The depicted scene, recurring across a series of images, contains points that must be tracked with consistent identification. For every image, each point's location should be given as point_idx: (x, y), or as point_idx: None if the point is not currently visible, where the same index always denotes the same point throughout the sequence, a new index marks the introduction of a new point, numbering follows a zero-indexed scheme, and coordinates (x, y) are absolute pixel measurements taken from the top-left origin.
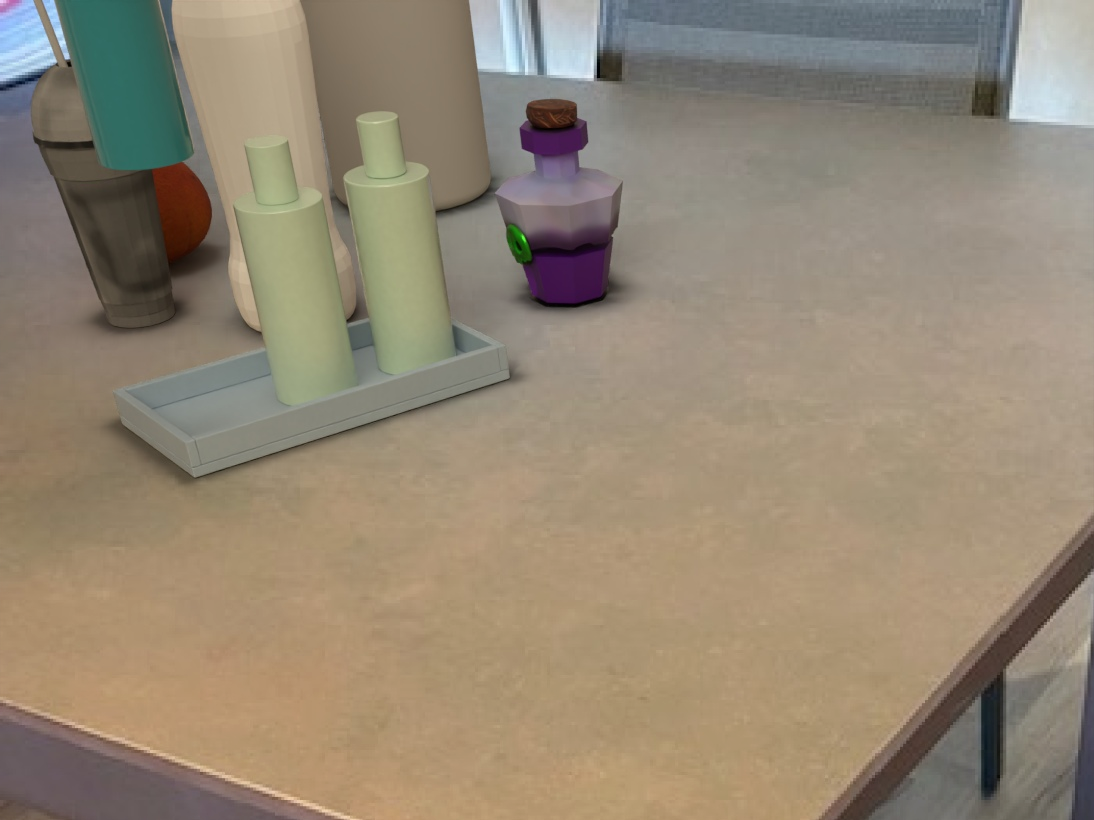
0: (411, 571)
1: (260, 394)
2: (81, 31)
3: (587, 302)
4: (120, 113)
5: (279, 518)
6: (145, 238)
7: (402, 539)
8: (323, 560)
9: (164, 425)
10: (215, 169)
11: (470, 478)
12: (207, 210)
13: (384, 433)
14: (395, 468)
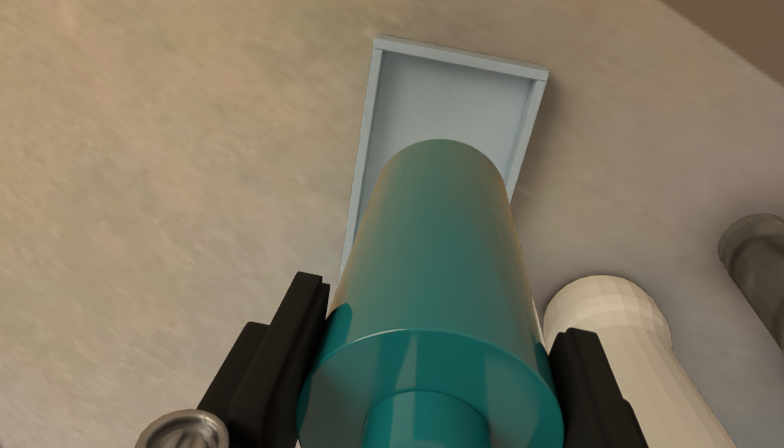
0: (96, 37)
1: None
2: (401, 217)
3: None
4: (385, 181)
5: (252, 31)
6: (752, 289)
7: (149, 70)
8: (157, 3)
9: (426, 49)
10: (667, 372)
11: (207, 175)
12: None
13: (328, 193)
14: (264, 154)
